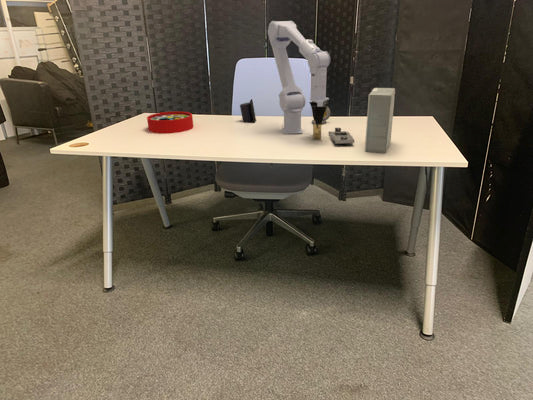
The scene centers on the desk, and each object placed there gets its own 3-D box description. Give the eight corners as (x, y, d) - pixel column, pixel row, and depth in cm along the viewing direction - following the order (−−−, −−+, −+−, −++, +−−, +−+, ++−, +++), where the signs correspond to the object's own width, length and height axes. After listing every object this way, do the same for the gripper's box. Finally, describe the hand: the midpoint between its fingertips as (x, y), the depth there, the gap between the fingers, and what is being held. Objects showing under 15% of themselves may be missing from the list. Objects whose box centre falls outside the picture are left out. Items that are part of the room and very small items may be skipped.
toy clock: (188, 110, 188) (195, 118, 171) (189, 122, 191) (196, 131, 173) (145, 113, 183) (148, 122, 165) (147, 126, 185) (150, 136, 168)
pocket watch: (310, 124, 179) (310, 102, 175) (314, 120, 187) (314, 99, 183) (327, 125, 177) (328, 102, 173) (331, 121, 184) (332, 99, 180)
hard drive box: (370, 140, 152) (374, 87, 144) (390, 142, 149) (396, 88, 141) (363, 151, 139) (368, 93, 131) (386, 153, 136) (392, 94, 128)
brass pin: (312, 138, 157) (312, 123, 154) (320, 138, 157) (320, 123, 154) (313, 140, 154) (313, 125, 151) (321, 140, 154) (321, 125, 151)
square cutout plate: (328, 134, 161) (328, 127, 160) (345, 134, 161) (345, 126, 160) (335, 146, 145) (335, 138, 144) (354, 146, 145) (354, 138, 144)
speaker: (260, 120, 189) (257, 98, 185) (254, 123, 184) (251, 101, 180) (246, 120, 192) (243, 99, 188) (240, 123, 188) (237, 101, 184)
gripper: (331, 88, 140) (330, 126, 146) (326, 83, 154) (325, 118, 159) (312, 89, 140) (311, 126, 146) (308, 83, 154) (308, 118, 159)
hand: (317, 122), depth 152 cm, fingers open, 7 cm apart
